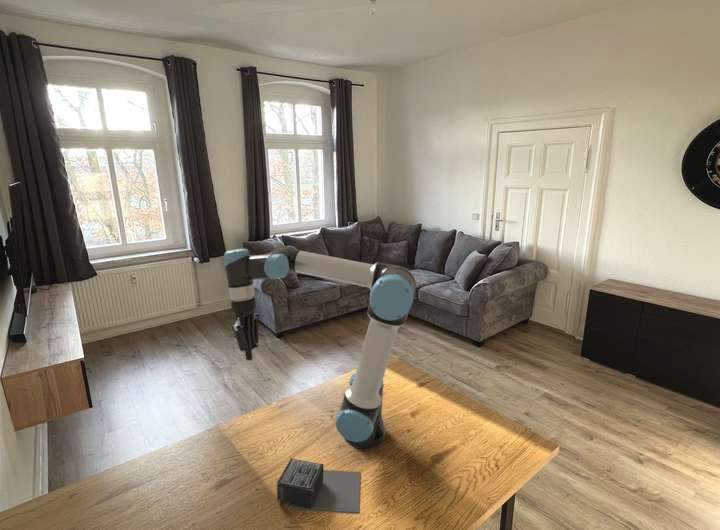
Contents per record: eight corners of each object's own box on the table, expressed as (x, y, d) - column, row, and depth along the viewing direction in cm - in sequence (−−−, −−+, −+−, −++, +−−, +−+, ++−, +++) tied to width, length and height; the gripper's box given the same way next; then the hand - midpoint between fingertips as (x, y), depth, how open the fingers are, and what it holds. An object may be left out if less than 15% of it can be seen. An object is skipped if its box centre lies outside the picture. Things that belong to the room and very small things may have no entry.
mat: (360, 472, 122) (360, 471, 122) (358, 513, 107) (358, 512, 107) (299, 469, 122) (299, 468, 122) (290, 509, 107) (290, 508, 107)
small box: (276, 503, 109) (312, 510, 107) (275, 483, 108) (311, 490, 105) (291, 475, 119) (324, 481, 117) (290, 457, 118) (324, 463, 116)
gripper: (243, 293, 130) (252, 359, 134) (220, 304, 118) (231, 376, 122) (263, 292, 128) (272, 359, 132) (241, 303, 116) (252, 377, 120)
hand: (252, 367), depth 127 cm, fingers closed
